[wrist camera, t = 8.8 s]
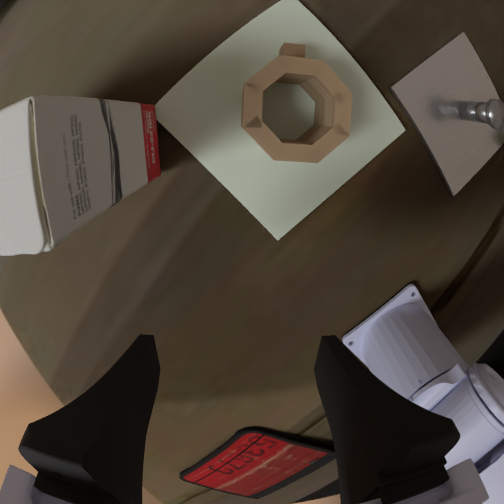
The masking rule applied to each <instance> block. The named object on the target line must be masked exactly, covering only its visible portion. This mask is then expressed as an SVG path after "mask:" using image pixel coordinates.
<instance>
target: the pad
mask: <svg viewBox="0 0 504 504" xmlns="http://www.w3.org/2000/svg"><path fill="white" fill-rule="evenodd" d="M283 43H293V44H301V45H305V58H309V59H316V60H323V61H325V62H326V64H327V65H328V66H329V67H330V68H331V69H332V70H333V72H334V73H335V74H336V75H337V76H338V77H339V79H340V80H341V81H342V82H343V83H344V85H345V86H346V87H347V88H348V89H349V91H350V92H351V93H352V111H351V125H350V136H349V137H348V138H347V139H346V140H345V141H343V142H342V143H341V144H340V145H339V146H337V147H336V148H335V149H334V150H333V151H332V152H330V153H329V154H328V155H327V156H326V157H325V158H323V159H322V160H321V161H320V162H319V163H308V162H293V161H275V160H273V159H272V158H271V157H270V156H269V155H268V154H267V153H266V152H265V151H264V150H263V149H262V148H261V147H260V146H259V145H258V144H257V143H256V142H255V140H254V139H253V138H252V137H251V136H250V135H249V134H248V133H247V132H246V131H245V130H244V129H243V128H242V127H241V108H242V90H243V87H244V83H245V82H246V81H247V80H249V79H250V78H251V77H252V76H253V75H255V74H256V73H257V72H258V71H260V70H261V69H262V68H263V67H265V66H266V65H267V64H268V63H270V62H271V61H272V60H273V59H275V58H276V57H277V56H279V49H280V48H281V46H282V45H283ZM155 111H156V120H157V121H158V122H159V123H161V124H162V125H163V126H164V127H165V128H166V129H167V130H168V131H169V132H170V133H171V134H172V135H173V136H174V137H175V138H176V139H177V140H178V141H179V142H180V143H181V144H182V145H183V146H184V147H185V148H186V149H187V150H188V151H189V152H190V153H191V154H192V155H193V156H194V157H195V158H197V159H198V160H199V161H200V162H201V163H202V164H203V165H204V166H205V167H206V168H207V169H208V170H209V171H210V172H211V173H212V174H213V175H214V176H215V177H216V178H217V179H218V180H219V181H220V182H221V183H222V184H223V185H224V186H225V187H226V188H227V189H228V190H229V191H230V192H231V193H232V194H233V195H234V196H235V197H236V198H237V199H238V200H239V201H240V202H241V203H242V204H243V205H244V206H245V207H246V208H247V209H248V210H249V212H250V213H251V214H252V215H253V216H254V217H255V218H256V219H257V220H258V221H259V222H260V223H261V224H262V225H263V226H264V227H265V228H266V229H267V230H268V231H269V232H270V233H271V234H272V235H273V236H274V237H275V238H276V239H277V240H279V239H280V238H281V237H282V236H284V235H285V234H286V233H287V232H288V231H290V230H291V229H292V228H293V227H294V226H295V225H297V224H298V223H299V222H300V221H301V220H302V219H304V218H305V217H306V216H307V215H308V214H309V213H311V212H312V211H313V210H314V209H315V208H316V207H318V206H319V205H320V204H321V203H322V202H323V201H325V200H326V199H327V198H328V197H329V196H330V195H332V194H333V193H334V192H335V191H336V190H337V189H338V188H340V187H341V186H342V185H343V184H344V183H345V182H347V181H348V180H349V179H350V178H351V177H352V176H354V175H355V174H356V173H357V172H358V171H359V170H360V169H362V168H363V167H364V166H365V165H366V164H367V163H369V162H370V161H371V160H372V159H373V158H374V157H375V156H377V155H378V154H379V153H380V152H381V151H382V150H384V149H385V148H386V147H387V146H388V145H389V144H390V143H392V142H393V141H394V140H395V139H396V138H397V137H398V136H400V135H401V134H402V133H403V132H404V131H405V128H404V127H403V125H402V124H401V122H400V121H399V119H398V118H397V116H396V115H395V113H394V112H393V110H392V109H391V107H390V106H389V104H388V103H387V102H386V100H385V99H384V97H383V96H382V95H381V93H380V92H379V90H378V89H377V88H376V86H375V85H374V84H373V82H372V81H371V80H370V79H369V77H368V76H367V75H366V73H365V72H364V71H363V70H362V68H361V67H360V66H359V65H358V64H357V62H356V61H355V60H354V59H353V57H352V56H351V55H350V54H349V53H348V52H347V50H346V49H345V48H344V47H343V46H342V45H341V44H340V43H339V41H338V40H337V39H336V38H335V37H334V36H333V35H332V34H331V33H330V32H329V31H328V29H327V28H326V27H325V26H324V25H323V24H322V23H321V22H320V21H319V20H318V19H317V18H316V17H315V16H314V15H313V14H312V13H311V12H310V11H309V10H308V9H307V8H306V7H305V6H303V5H302V4H301V3H300V2H299V1H298V0H281V1H279V2H278V3H276V4H275V5H273V6H272V7H270V8H269V9H267V10H266V11H264V12H263V13H261V14H260V15H259V16H257V17H256V18H254V19H253V20H252V21H250V22H249V23H248V24H246V25H245V26H244V27H242V28H241V29H240V30H238V31H237V32H236V33H234V34H233V35H232V36H230V37H229V38H228V39H227V40H225V41H224V42H223V43H222V44H221V45H219V46H218V47H217V48H216V49H214V50H213V51H212V52H211V53H210V54H209V55H207V56H206V57H205V58H204V59H203V60H202V61H200V62H199V63H198V64H197V65H196V66H195V67H194V68H193V69H192V70H190V71H189V72H188V73H187V74H186V75H185V76H184V77H183V78H182V79H181V80H180V81H179V82H178V83H177V84H175V85H174V86H173V87H172V88H171V89H170V90H169V91H168V92H167V93H166V94H165V95H164V96H163V97H162V98H161V99H160V100H159V101H158V102H157V103H156V105H155ZM314 112H315V102H314V101H313V99H312V98H311V97H310V96H309V95H308V94H307V93H306V92H305V90H304V89H303V88H302V87H301V86H300V85H299V84H288V83H277V82H275V83H274V84H272V85H271V86H270V87H269V88H268V89H266V90H265V91H264V92H263V104H262V122H263V123H264V124H265V125H266V126H267V127H268V128H269V129H270V130H271V131H272V132H273V133H274V134H275V135H276V137H277V138H278V139H291V140H297V139H298V138H299V137H300V136H301V135H303V134H304V133H305V132H306V131H307V130H308V129H310V128H311V127H312V126H313V125H314Z"/></svg>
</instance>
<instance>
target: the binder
mask: <svg viewBox="0 0 504 504" xmlns="http://www.w3.org/2000/svg"><path fill="white" fill-rule="evenodd" d="M309 443H322V442H321V441H318V440H313V439H309V438H304V437H299V436H294V435H290V434H285V433H281V432H276V431H272V430H268V429H264V428H260V427H245V428H242V429H240V430H238V431H237V432H236V433H235V434H234V435H233V436H232V437H231V438H230V439H229V440H228V441H227V442H226V443H225V444H224V445H223V446H221V447H220V448H218V449H217V450H216V451H215V452H213V453H212V454H210V455H209V456H207V457H206V458H205V459H203V460H202V461H201V462H199V463H198V464H196V465H195V466H193V467H192V468H189V469H188V468H187V469H185V470H183V471H181V472H180V476H179V477H180V479H181V480H183V481H186V482H189V483H192V484H196V485H199V486H203V487H206V488H210V489H213V490H217V491H221V492H225V493H229V494H234V495H239V496H243V497H248V498H255V499H259V498H261V497H264V496H266V495H268V494H270V493H272V492H274V491H277V490H279V489H281V488H283V487H285V486H287V485H289V484H291V483H293V482H295V481H296V480H298V479H300V478H302V477H304V476H306V475H308V474H310V473H312V472H313V471H315V470H317V469H319V468H320V467H322V466H324V465H326V464H327V463H329V462H331V461H332V460H334V459H336V454H335V448H333V449H327V448H323V447H321V446H315V445H312V444H309Z"/></svg>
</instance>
